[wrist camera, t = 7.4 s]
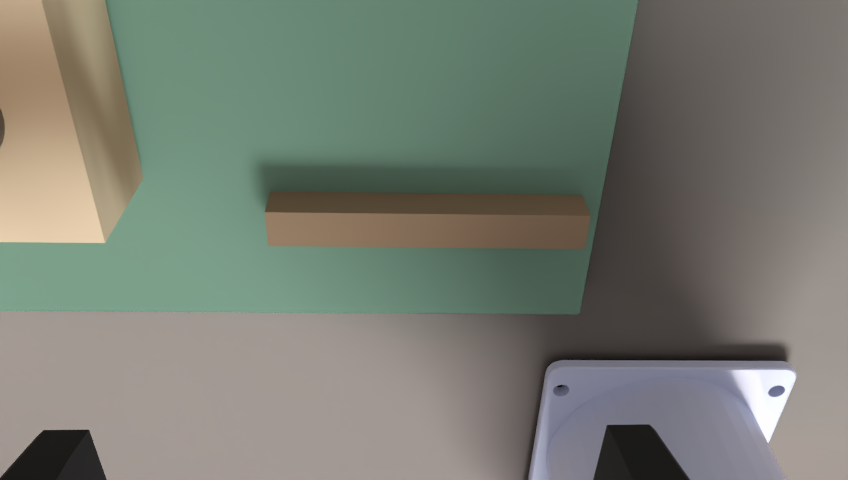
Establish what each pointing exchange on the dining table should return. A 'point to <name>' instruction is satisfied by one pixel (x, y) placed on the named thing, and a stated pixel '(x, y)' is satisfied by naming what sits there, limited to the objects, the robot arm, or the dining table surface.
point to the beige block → (62, 124)
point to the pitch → (350, 159)
